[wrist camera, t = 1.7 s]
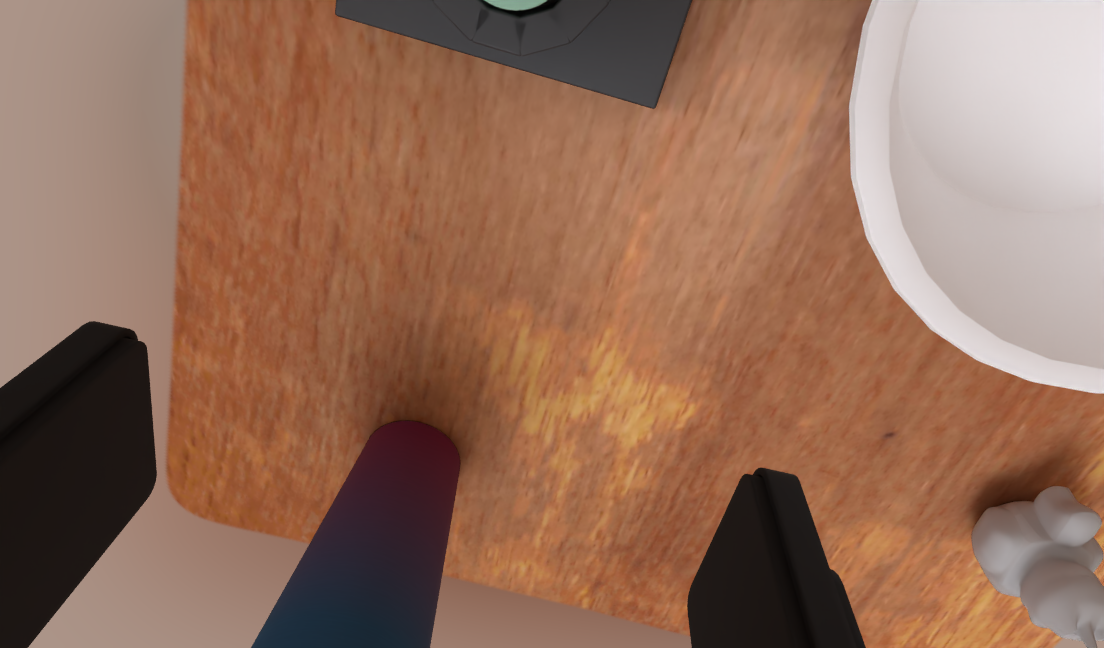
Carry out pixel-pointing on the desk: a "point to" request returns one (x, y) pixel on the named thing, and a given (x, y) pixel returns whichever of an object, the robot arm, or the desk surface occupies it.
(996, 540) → the rubber duck
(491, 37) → the dark button base
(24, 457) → the robot arm
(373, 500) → the cup
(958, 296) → the bowl
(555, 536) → the desk surface
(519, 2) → the power button
